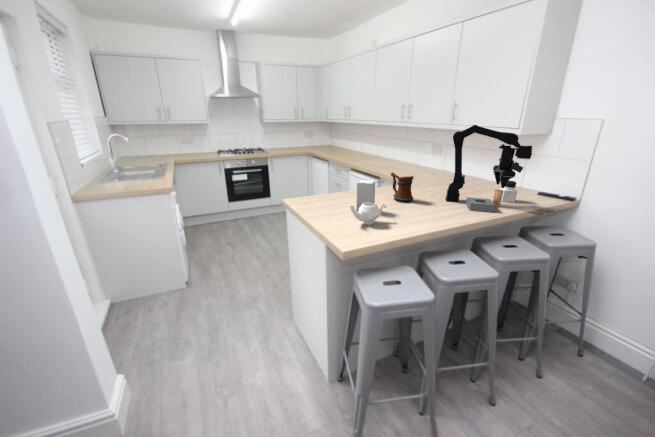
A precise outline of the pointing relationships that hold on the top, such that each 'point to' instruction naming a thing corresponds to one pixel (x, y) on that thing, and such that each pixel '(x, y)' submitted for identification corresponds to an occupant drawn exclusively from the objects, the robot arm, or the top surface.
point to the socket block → (480, 204)
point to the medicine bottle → (509, 192)
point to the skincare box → (365, 192)
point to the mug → (402, 188)
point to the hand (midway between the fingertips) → (500, 186)
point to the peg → (497, 197)
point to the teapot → (368, 212)
